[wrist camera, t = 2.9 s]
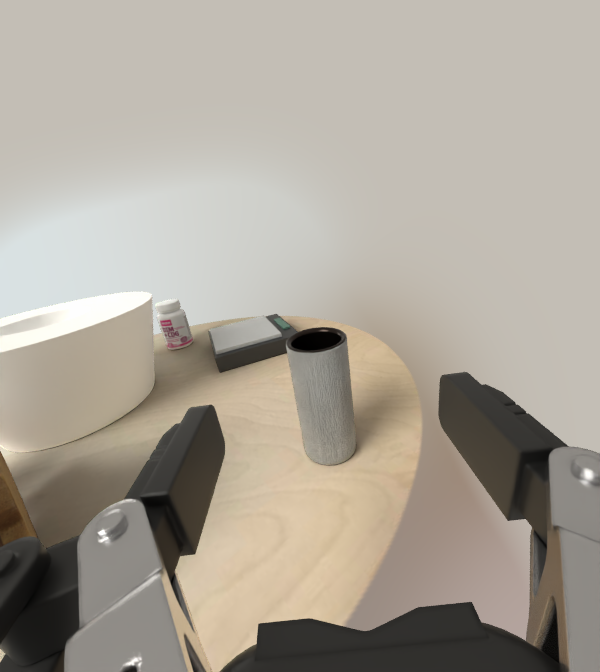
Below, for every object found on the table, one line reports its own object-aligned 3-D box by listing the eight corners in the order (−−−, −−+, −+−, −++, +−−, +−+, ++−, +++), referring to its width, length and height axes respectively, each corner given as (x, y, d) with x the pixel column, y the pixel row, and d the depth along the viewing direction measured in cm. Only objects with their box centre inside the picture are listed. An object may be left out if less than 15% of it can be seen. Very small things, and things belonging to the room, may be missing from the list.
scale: (278, 325, 56) (276, 310, 55) (302, 348, 45) (300, 330, 44) (211, 343, 53) (207, 327, 52) (219, 372, 41) (214, 354, 40)
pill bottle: (167, 352, 51) (151, 308, 48) (167, 344, 56) (152, 302, 52) (194, 345, 53) (180, 301, 50) (192, 337, 57) (180, 296, 54)
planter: (365, 456, 24) (357, 341, 20) (313, 473, 23) (293, 357, 19) (344, 422, 28) (333, 322, 24) (299, 436, 27) (280, 334, 23)
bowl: (186, 349, 52) (165, 283, 47) (165, 434, 30) (121, 327, 25) (36, 384, 47) (-4, 315, 43) (-119, 515, 25) (-235, 402, 21)
